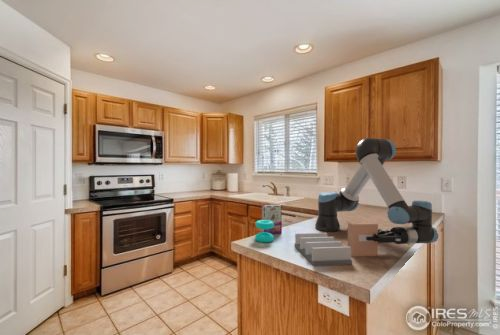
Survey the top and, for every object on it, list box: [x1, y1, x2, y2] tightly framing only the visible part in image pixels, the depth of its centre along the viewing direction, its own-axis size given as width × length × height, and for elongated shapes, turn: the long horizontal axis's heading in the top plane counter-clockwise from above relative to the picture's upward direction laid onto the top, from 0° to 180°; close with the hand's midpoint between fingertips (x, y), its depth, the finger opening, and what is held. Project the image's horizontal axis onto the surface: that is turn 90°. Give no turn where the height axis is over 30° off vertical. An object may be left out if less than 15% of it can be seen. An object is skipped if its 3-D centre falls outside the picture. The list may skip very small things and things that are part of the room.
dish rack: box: [294, 232, 353, 267], centre depth 106 cm, size 24×16×6 cm, turn 7°
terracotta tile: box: [347, 221, 379, 258], centre depth 107 cm, size 4×12×14 cm, turn 97°
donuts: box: [254, 219, 275, 243], centre depth 126 cm, size 10×10×10 cm
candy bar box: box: [261, 204, 283, 235], centre depth 141 cm, size 11×5×16 cm, turn 105°
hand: (355, 236), depth 106 cm, fingers closed on terracotta tile, 4 cm apart
